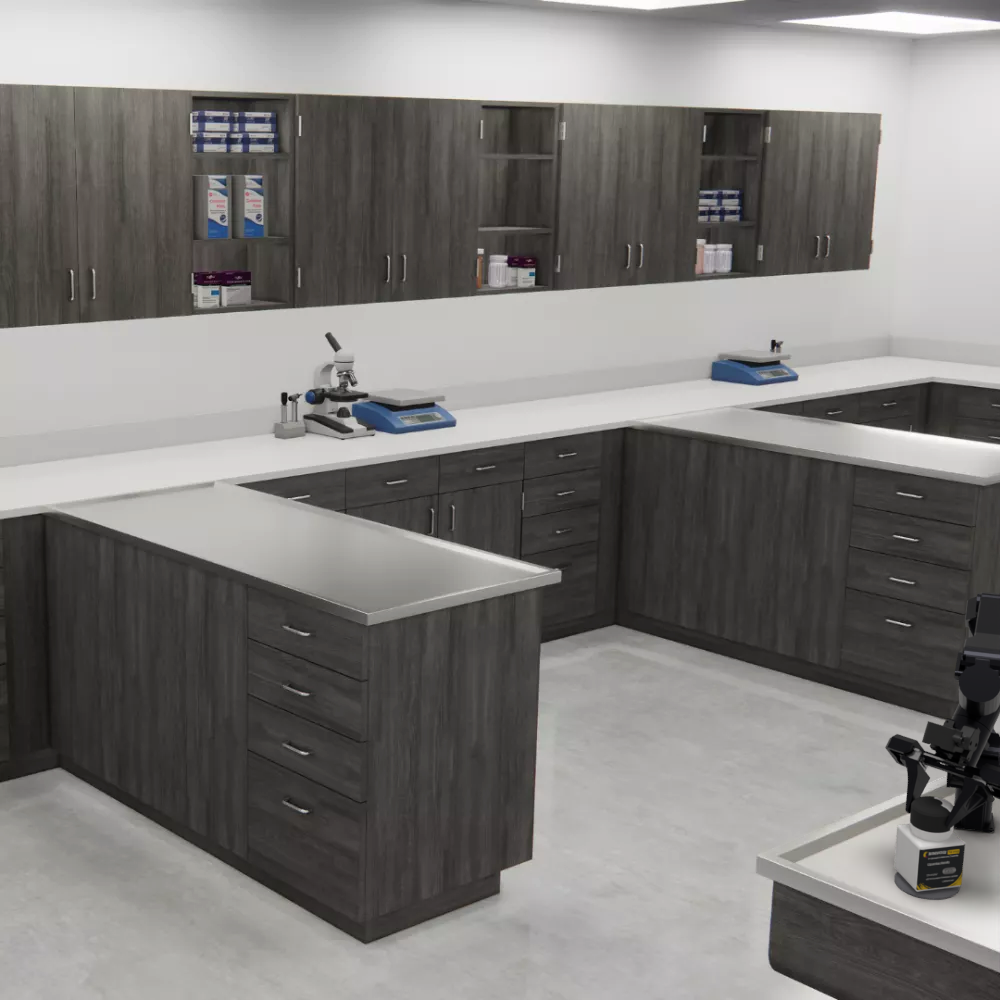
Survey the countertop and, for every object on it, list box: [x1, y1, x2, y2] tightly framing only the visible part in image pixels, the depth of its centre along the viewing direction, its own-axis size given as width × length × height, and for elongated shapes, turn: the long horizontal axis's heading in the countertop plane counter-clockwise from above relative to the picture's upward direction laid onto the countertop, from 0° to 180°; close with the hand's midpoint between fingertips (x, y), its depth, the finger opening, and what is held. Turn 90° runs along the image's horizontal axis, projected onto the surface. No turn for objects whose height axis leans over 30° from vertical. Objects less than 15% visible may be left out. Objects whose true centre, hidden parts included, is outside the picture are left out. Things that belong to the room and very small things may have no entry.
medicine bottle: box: [893, 795, 966, 892], centre depth 208 cm, size 7×7×12 cm
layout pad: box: [894, 871, 960, 901], centre depth 209 cm, size 9×9×1 cm
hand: (927, 819), depth 206 cm, fingers closed on medicine bottle, 6 cm apart
